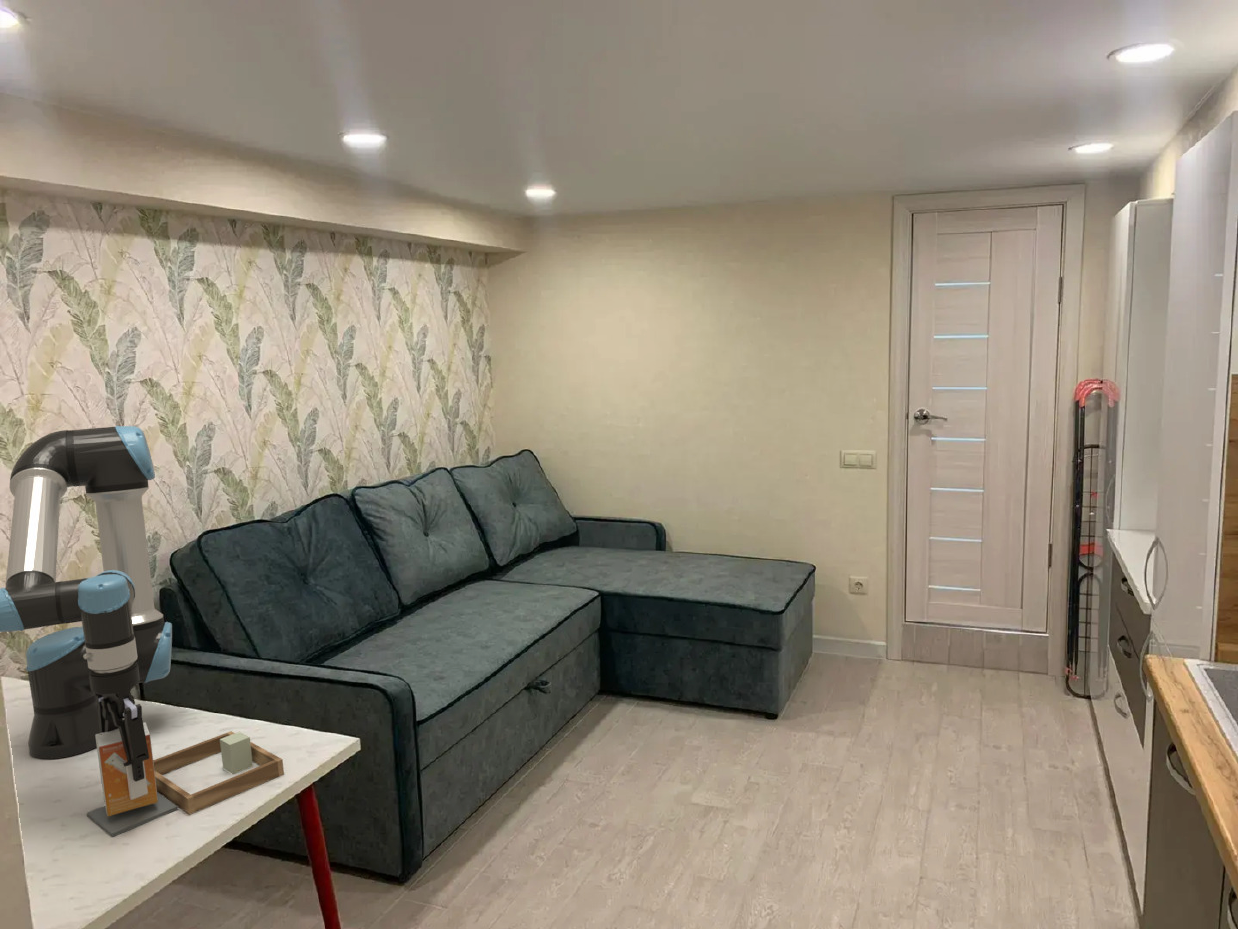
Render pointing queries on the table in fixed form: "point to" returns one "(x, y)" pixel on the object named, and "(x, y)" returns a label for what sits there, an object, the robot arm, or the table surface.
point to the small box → (122, 773)
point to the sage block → (236, 752)
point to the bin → (217, 792)
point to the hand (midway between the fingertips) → (129, 788)
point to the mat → (131, 816)
